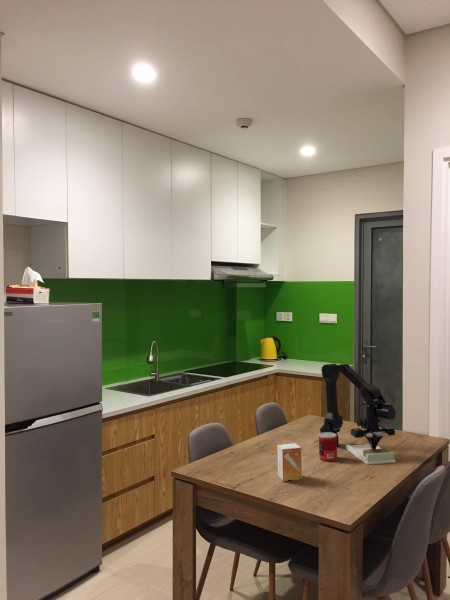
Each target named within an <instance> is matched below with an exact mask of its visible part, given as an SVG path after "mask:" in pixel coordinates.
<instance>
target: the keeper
mask: <svg viewBox="0 0 450 600" xmlns="http://www.w3.org/2000/svg"><path fill="white" fill-rule="evenodd" d="M380 448H381V449H368V450H363V456H365V457H366V454H367V453H380V452H391V451H390V450H389V449H387V448H386V447H384V448H382V447H380Z"/></svg>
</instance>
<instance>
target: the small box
mask: <svg viewBox="0 0 450 600" xmlns="http://www.w3.org/2000/svg"><path fill="white" fill-rule="evenodd" d="M276 446H277V451H276V453H277V476H279V477H280V478H281V479H282V480H283V481H284V482H289V481H288V480H292V481H300V479H301V480H302V479H303V478H302V477H303V476H302V447H301V446H300V445H299V444H297V443H287V444H286V443H283V444H277V445H276ZM279 477H278V478H279ZM280 478H279V479H280ZM281 479H280V480H281ZM282 480H281V481H282ZM283 481H282V482H283Z"/></svg>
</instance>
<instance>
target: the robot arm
mask: <svg viewBox="0 0 450 600" xmlns="http://www.w3.org/2000/svg"><path fill="white" fill-rule="evenodd" d="M320 370H321V371H320V372H321V376H322V378H323V380H324V382H325V390H326V391H325V394H326V395H325V396H326V410H327V411H326V415H325V416H324V419H323V422H324V423H323V425H322V426H321V427H319V431H320V433H324V432H330V433H335V434H336V436H337V448H338V447H340V445H339V443H340V442H339V435H338V433H340V432H341V429H342V428H343V425H344V422H343V415H340V413H339V411H338V408H339V407H338V391H337V382H338V379H339V377H340V374H342V375H343V376H344V377H345V378H346V379H348V381H350V383H352V384H353V386H354V387H355V388H356V389H358V391H359V395H360V396H361V397H362V399H364V400H363V402H362V403H360V404H361V406H365V416H364V419H362V418H357V419H356V426H357V427H356V428H355V427H354V428H353V427H352V428H351V430H350V435H351V436H352V437H354V438H355V439H359V438H361V439H362V438H366V439H367V441H368V444H370V447H371V449H376V447H377V446H379V445H378V444H379V442H380V441H381V439H383V438H384V436H383V435H382V434H387V436H395V435H396V430H395V428H393V427H392V426H390V425H385V426H381V427H380V423H381V419H383V420H389V421H393V420H395V418H396V415H397V412H396V409H395V407H393V406H394V405H393V403H387V401H386V400H385V398H384V397H383V395H382V393H381V389H380V388H379V387H377V386H375V385H373V384H371V383H369V382H367V381H366V380H365V379H364V378H363V377H361V375H360V374H358V373H357V372H356V371H355V369H353V368H352V367H351V365H350V364H349V363H342V364H337V363H329V364H328V363H327V364H324V365H322V367H321V369H320Z"/></svg>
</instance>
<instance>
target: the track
mask: <svg viewBox="0 0 450 600" xmlns="http://www.w3.org/2000/svg"><path fill="white" fill-rule="evenodd" d="M381 448H382V447H380V446H379V445H377V447H376V449H381ZM345 449H346V450H348V451H349V452H350V453H351V454H353V456H355V457H357V459H359V460H361V462H363V463H364V464H365V465H376V464H391V463H396V459H395V452H393V451H390V452H380V453H367V454H366V457H365V456H363V450H368V449H371V447H370V444H369V443H368V444H351V445H350V444H348V443H346V444H345Z"/></svg>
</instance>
